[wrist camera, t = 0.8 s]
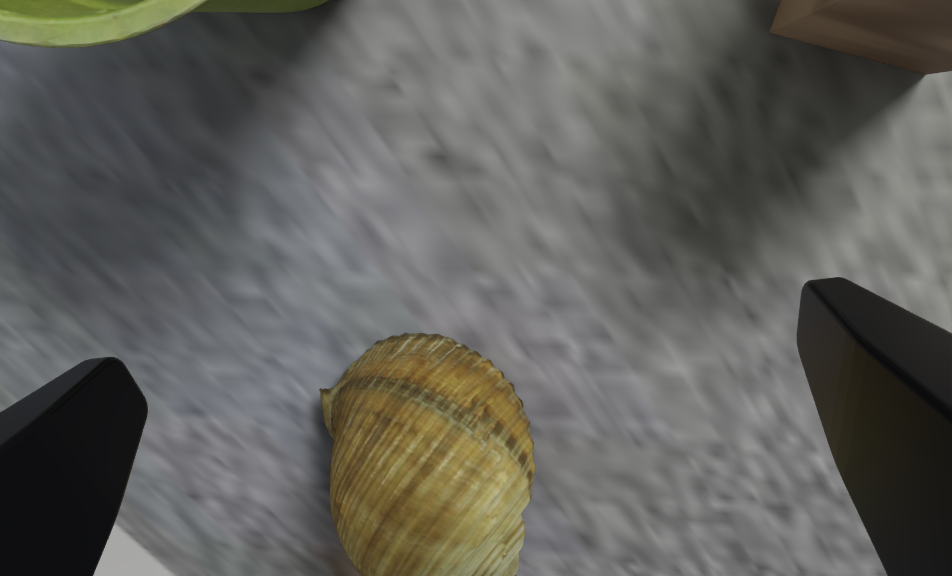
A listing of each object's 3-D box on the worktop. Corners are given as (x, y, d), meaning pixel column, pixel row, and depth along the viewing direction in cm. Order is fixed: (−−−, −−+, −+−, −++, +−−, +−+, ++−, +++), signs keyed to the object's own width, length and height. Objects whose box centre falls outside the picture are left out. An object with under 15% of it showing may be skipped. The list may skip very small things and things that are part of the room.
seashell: (381, 354, 30) (241, 490, 25) (414, 263, 24) (241, 418, 20) (555, 500, 29) (441, 673, 24) (633, 441, 23) (504, 652, 18)
